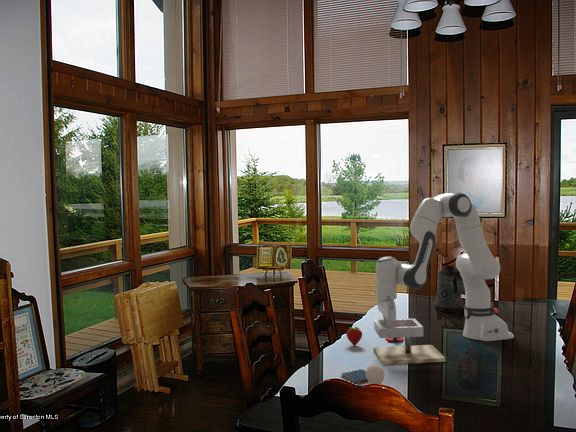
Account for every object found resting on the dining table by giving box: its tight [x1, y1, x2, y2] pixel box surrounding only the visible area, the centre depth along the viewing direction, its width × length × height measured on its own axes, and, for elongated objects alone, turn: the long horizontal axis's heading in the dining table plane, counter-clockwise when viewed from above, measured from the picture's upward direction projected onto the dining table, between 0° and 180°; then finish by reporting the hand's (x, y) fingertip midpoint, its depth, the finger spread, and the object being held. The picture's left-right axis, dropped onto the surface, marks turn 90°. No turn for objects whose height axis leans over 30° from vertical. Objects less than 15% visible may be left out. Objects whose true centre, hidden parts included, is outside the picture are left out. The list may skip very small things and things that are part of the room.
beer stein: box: [433, 265, 465, 313], centre depth 297 cm, size 16×19×25 cm
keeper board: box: [373, 337, 447, 366], centre depth 218 cm, size 26×18×11 cm
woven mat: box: [340, 368, 369, 385], centre depth 194 cm, size 10×11×2 cm
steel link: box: [373, 317, 424, 339], centre depth 219 cm, size 18×13×4 cm
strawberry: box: [345, 326, 363, 346], centre depth 235 cm, size 6×8×10 cm
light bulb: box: [365, 364, 386, 385], centre depth 177 cm, size 7×7×11 cm
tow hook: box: [385, 337, 405, 343], centre depth 242 cm, size 8×13×9 cm
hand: (387, 325), depth 224 cm, fingers closed on steel link, 2 cm apart
